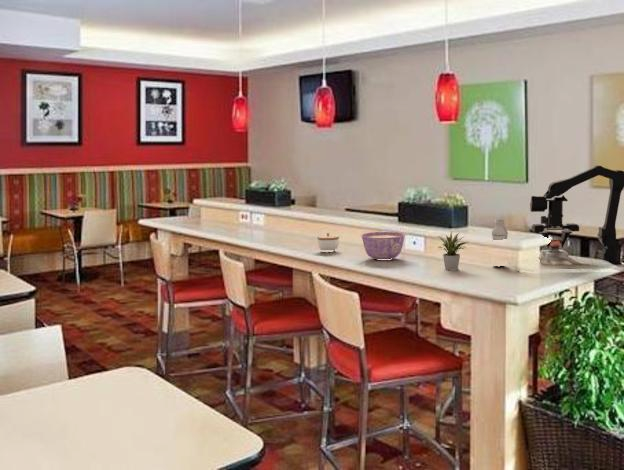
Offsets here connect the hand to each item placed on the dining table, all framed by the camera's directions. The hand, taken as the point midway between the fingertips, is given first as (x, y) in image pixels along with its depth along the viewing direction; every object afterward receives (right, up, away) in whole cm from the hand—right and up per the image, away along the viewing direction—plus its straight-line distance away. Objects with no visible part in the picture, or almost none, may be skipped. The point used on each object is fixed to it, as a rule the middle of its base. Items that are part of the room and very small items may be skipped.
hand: (554, 247), depth 300 cm
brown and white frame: (0, -7, -3) cm, 8 cm away
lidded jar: (-96, -3, +49) cm, 108 cm away
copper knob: (0, -5, +1) cm, 5 cm away
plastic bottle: (-25, -8, -4) cm, 27 cm away
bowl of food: (-72, -6, +22) cm, 75 cm away
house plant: (-47, -9, -7) cm, 48 cm away
